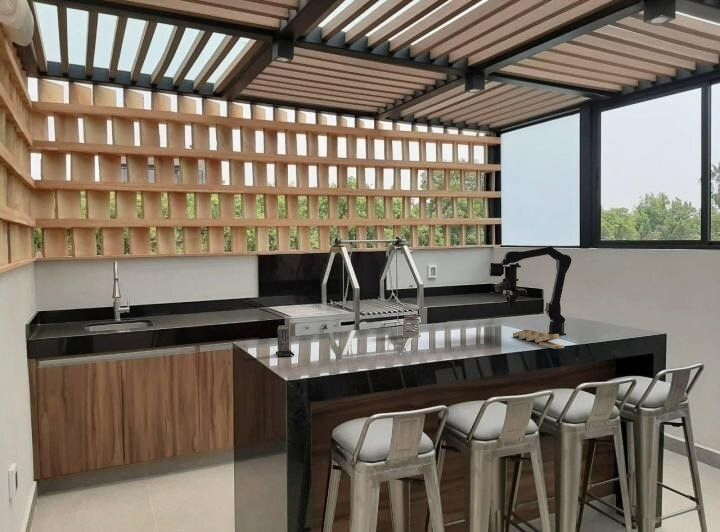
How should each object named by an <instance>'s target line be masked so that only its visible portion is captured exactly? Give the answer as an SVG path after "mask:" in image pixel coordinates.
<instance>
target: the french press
mask: <svg viewBox="0 0 720 532" xmlns="http://www.w3.org/2000/svg"><path fill="white" fill-rule="evenodd" d="M409 288H414V285H413V284H410V285H409ZM402 309H403V310H400V311H399V312H398V314H397V322H398V324H399V325H400V326H401V327H402V334H401V335H402V336H403V338H407V337H411V339H412V338H414V337H415V338H416V337H417V338H421V337H422V335H421V334H420V318H419V315H416V314H414V315H413V314H406V315H404V313H405V312H404V310H406V311H408V310H410V311H413V310H415V311H417V310H420V307H419V306H418V305H414V304H413V303H410V304H408V305H405V306H404V307H402ZM401 313H402V314H403V315H404V316H403V319H402V320H403V321H402V322H403V324H402V323H400V321H399V315H400V314H401ZM402 336H401V337H402Z"/></svg>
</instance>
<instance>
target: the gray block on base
mask: <svg viewBox="0 0 720 532" xmlns="http://www.w3.org/2000/svg"><path fill="white" fill-rule="evenodd" d="M277 349H278V350H277V351H275V353H274V354H275V355H276V356H278V357H282V356H292V357H293V356H295V354H294V352H293V351H292V350H290V334H289V327H288V325H286V324H285V325H284V324H283V325H278V327H277Z"/></svg>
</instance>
